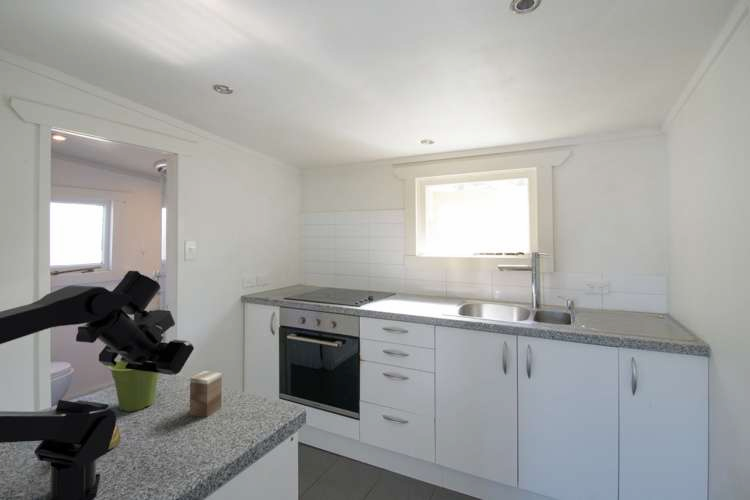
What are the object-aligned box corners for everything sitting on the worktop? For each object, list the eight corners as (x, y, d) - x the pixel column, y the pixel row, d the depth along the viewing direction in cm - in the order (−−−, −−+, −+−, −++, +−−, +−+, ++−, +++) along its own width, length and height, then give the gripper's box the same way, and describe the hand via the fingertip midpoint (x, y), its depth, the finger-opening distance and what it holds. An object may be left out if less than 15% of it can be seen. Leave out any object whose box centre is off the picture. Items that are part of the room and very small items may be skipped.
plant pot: (156, 392, 98) (157, 352, 98) (169, 405, 90) (170, 362, 90) (103, 405, 89) (104, 361, 89) (112, 421, 81) (113, 373, 81)
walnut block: (221, 408, 89) (221, 373, 89) (207, 417, 84) (207, 380, 84) (204, 405, 90) (205, 371, 90) (189, 414, 85) (190, 378, 85)
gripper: (187, 301, 69) (224, 343, 79) (113, 296, 73) (157, 336, 84) (151, 353, 61) (198, 391, 72) (72, 344, 66) (126, 381, 76)
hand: (169, 372), depth 76 cm, fingers closed
